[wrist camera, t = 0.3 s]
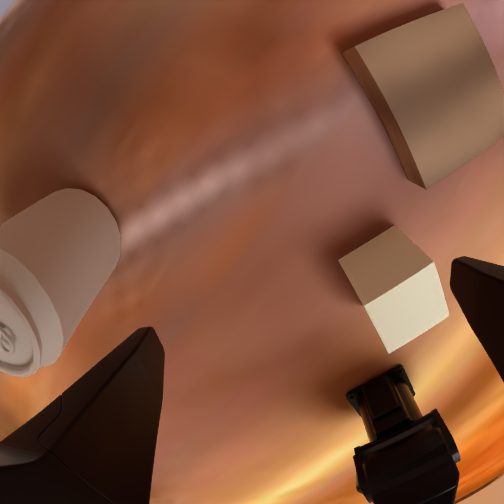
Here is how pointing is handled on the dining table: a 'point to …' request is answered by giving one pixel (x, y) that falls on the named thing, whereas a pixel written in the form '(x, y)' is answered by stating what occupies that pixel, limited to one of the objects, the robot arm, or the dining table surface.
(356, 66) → the plinth
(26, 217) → the can
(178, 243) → the dining table surface
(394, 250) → the block
